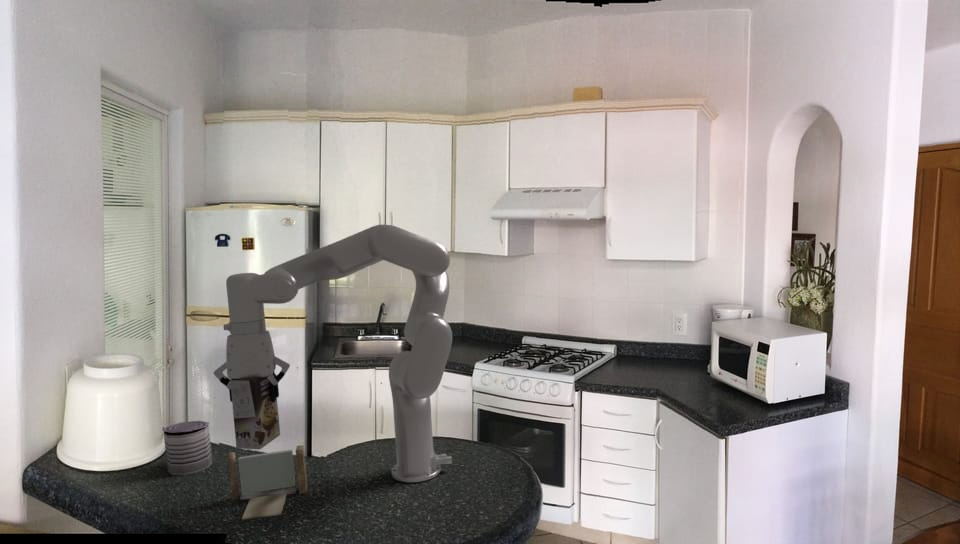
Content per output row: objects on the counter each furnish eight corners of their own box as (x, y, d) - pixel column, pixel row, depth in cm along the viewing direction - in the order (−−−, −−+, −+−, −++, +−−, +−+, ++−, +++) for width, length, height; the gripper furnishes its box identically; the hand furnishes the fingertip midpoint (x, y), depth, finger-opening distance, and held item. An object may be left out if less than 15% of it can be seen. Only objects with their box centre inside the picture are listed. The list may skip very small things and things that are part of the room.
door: (241, 494, 155) (238, 459, 154) (242, 492, 156) (238, 457, 155) (295, 486, 158) (292, 451, 157) (295, 483, 160) (292, 449, 159)
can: (158, 471, 174) (153, 429, 173) (194, 455, 184) (190, 415, 183) (185, 478, 169) (181, 434, 167) (221, 461, 179) (217, 420, 177)
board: (287, 495, 156) (286, 493, 156) (280, 514, 146) (280, 513, 146) (250, 499, 155) (250, 497, 155) (242, 519, 145) (241, 517, 145)
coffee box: (261, 450, 143) (254, 380, 141) (235, 449, 145) (228, 379, 143) (281, 434, 152) (275, 368, 150) (257, 434, 154) (250, 368, 152)
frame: (307, 487, 160) (303, 443, 158) (306, 492, 157) (302, 448, 155) (233, 496, 157) (229, 451, 156) (231, 501, 154) (226, 456, 153)
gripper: (203, 334, 140) (211, 411, 142) (285, 327, 143) (292, 403, 145) (212, 327, 148) (219, 401, 150) (289, 321, 150) (296, 394, 152)
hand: (255, 402), depth 147 cm, fingers closed on coffee box, 7 cm apart
